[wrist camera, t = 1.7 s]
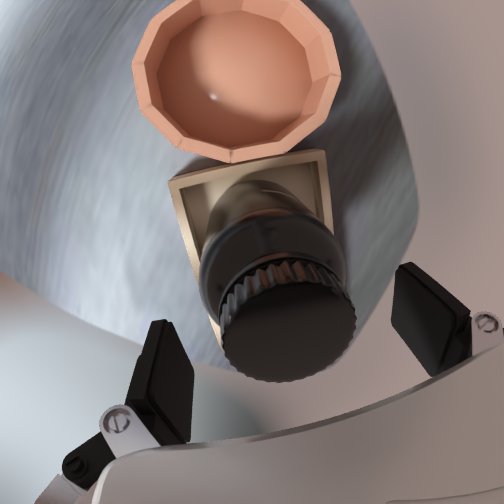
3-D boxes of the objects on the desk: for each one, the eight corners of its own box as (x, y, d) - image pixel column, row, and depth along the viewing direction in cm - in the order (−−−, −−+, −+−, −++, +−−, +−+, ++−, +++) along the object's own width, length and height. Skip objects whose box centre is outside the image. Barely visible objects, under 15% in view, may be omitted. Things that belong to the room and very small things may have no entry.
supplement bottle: (293, 168, 18) (389, 223, 7) (307, 255, 21) (378, 370, 10) (195, 191, 18) (158, 281, 7) (221, 276, 21) (225, 412, 10)
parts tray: (172, 177, 18) (167, 182, 16) (314, 148, 18) (324, 150, 16) (220, 334, 24) (221, 349, 22) (329, 309, 24) (337, 322, 22)
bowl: (141, 29, 13) (124, 9, 9) (297, 3, 13) (314, -20, 10) (170, 171, 18) (157, 181, 14) (328, 140, 18) (352, 144, 14)
